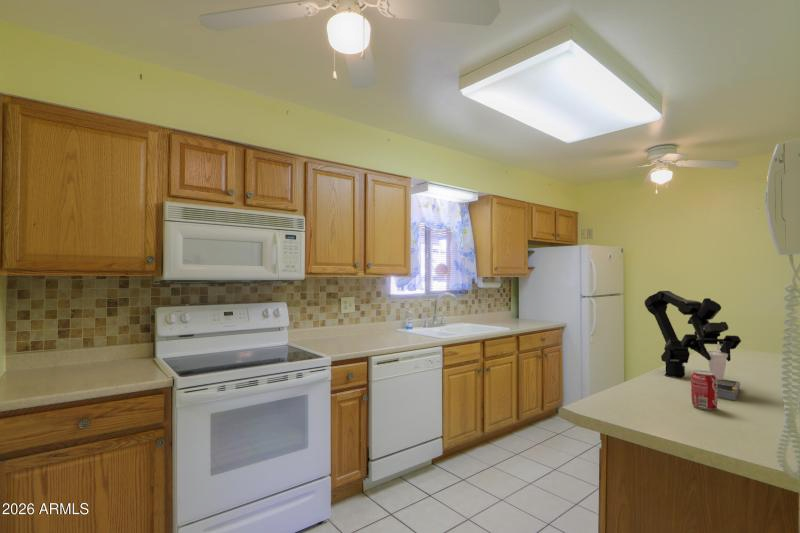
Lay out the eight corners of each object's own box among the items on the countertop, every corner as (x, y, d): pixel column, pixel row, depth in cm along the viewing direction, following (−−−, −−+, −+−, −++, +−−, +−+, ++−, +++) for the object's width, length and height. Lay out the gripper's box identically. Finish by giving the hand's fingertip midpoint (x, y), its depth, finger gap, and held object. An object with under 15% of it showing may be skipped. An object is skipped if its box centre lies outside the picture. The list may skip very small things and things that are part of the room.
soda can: (712, 405, 137) (712, 370, 138) (721, 412, 131) (721, 375, 131) (688, 403, 140) (688, 369, 140) (695, 409, 133) (695, 373, 133)
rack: (698, 394, 150) (698, 385, 150) (706, 384, 165) (706, 376, 165) (735, 400, 143) (735, 391, 143) (740, 389, 157) (740, 381, 157)
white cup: (713, 380, 148) (714, 342, 148) (702, 375, 154) (702, 339, 154) (732, 381, 147) (732, 343, 147) (720, 376, 154) (720, 340, 154)
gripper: (684, 313, 156) (700, 347, 145) (737, 314, 153) (758, 349, 142) (674, 330, 164) (688, 363, 153) (725, 332, 161) (743, 365, 150)
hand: (719, 360), depth 149 cm, fingers closed on white cup, 6 cm apart
